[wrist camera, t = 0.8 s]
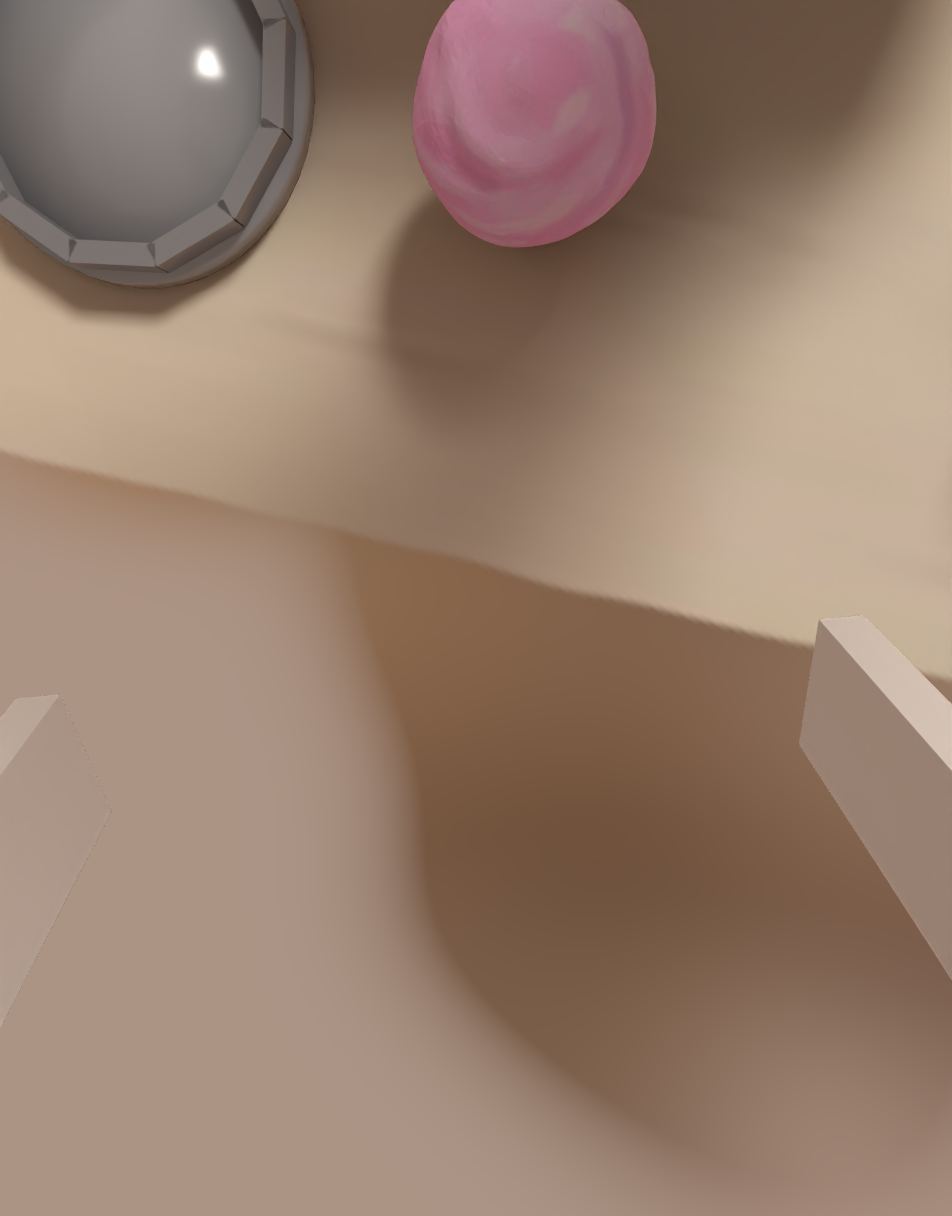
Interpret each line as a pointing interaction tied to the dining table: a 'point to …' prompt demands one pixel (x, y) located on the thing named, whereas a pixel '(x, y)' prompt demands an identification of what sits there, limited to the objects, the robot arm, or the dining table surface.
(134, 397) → the dining table surface
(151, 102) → the slate plate
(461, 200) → the cupcake
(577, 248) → the dining table surface
